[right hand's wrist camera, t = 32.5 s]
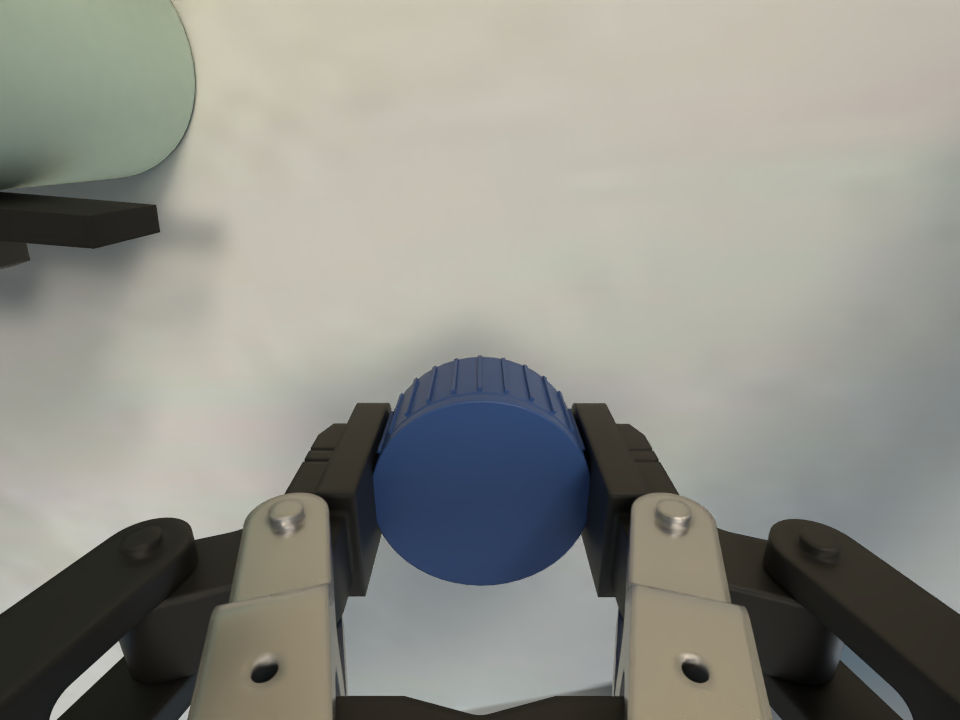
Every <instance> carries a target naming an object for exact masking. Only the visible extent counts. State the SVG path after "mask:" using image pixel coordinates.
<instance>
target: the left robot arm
mask: <svg viewBox="0 0 960 720" xmlns="http://www.w3.org/2000/svg"><path fill="white" fill-rule="evenodd" d="M158 232H160V228H159V221H158V215H157V208H156V205H150V204H138V203H126V202H114V201H102V200H90V199H78V198H66V197H54V196H42V195H30V194H18V193H6V192H0V269H3V268H7V267H11V266H15V265H18V264H20V263H23V262H26V261H29V260H30V257H29V253H28V249H27V245H26V243H33V244H45V245H57V246H69V247H81V248H94V249H95V248H99V247H103V246H107V245H111V244H114V243H118V242H122V241H126V240H130V239H134V238H138V237H142V236H146V235H150V234H154V233H158Z"/></svg>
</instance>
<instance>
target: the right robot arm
mask: <svg viewBox="0 0 960 720" xmlns="http://www.w3.org/2000/svg"><path fill="white" fill-rule="evenodd" d="M571 410H572V413H573V416H574V419H575V421H576V424H577V427H578V430H579V433H580V435H581V438H582V441H583V444H584V447H585V450H583V453H584V456H585V458H586V461H587V464H588V468H589V471H590V484H589V495H588V506H587V516H586V525H585V527H584V529H583V531H582V533H581V535H582V538H583V542H584V546H585V550H586V554H587V557H588V561H589V565H590V569H591V572H592V576H593V580H594V584H595V587H596V591H597V595H598V597H616V600H617V604H618V607H619V608H618V616H617V624H616V638H615V654H614V671H613V687H612V696H554V697H551V698H547V699H543V700H539V701H536V702H532V703H528V704H524V705H521V706H517V707H513V708H510V709H506V710H502V711H499V712H495V713H491V714H487V715H473V714H469V713H465V712H462V711H458V710H454V709H450V708H447V707H443V706H439V705H435V704H432V703H428V702H424V701H421V700H417V699H413V698H409V697H406V696H348V687H347V671H346V654H345V638H344V624H343V616H342V614H343V612H344V609H345V605H346V602H347V598H348V596H366V592H367V588H368V584H369V580H370V576H371V573H372V569H373V565H374V561H375V557H376V553H377V549H378V545H379V542H380V538H381V534H382V533H381V530H380V528H379V526H378V524H377V518H376V506H375V495H374V484H373V472H374V469H375V466H376V463H377V460H378V457H379V453H377V450H378V447H379V444H380V441H381V438H382V436H383V433H384V430H385V427H386V424H387V421H388V418H389V415H390V413H391V406H390V404H389V403H357V405H356V406H355V408H354V410H353V412H352V415H351V417H350V419H349V421H348V423H347V424H333V425H331V426H330V427H329V428H327V429H326V430H325V431H323V432H322V433H320V434H319V435H318V437H317V438H316V440H315V442H314V444H313V445H312V447H311V451H309V452H308V454H307V456H306V458H305V462H303V463H302V464H301V466H300V468H299V470H298V471H297V473H296V475H295V477H294V478H293V480H292V482H291V484H290V485H289V487H288V489H287V491H286V492H285V494H284V495H280V496H277V497H274V498H272V499H269V500H267V501H265V502H263V503H262V504H260V505H259V506H257V507H256V508H255V509H254V510H252V511H251V512H250V514H249V515H248V516H247V518H246V520H245V522H244V526H243V529H241V530H238V531H234V532H230V533H226V534H221V535H216V536H212V537H207V538H202V539H197V540H194V536H193V532H192V529H191V526H190V525H189V524H188V523H187V522H185V521H183V520H181V519H177V518H157V519H151V520H147V521H143V522H140V523H137V524H134V525H132V526H130V527H127V528H125V529H123V530H121V531H119V532H118V533H116V534H114V535H113V536H111V537H110V538H108V539H107V540H106V541H104V542H103V543H101V544H100V545H98V546H97V547H96V548H94V549H93V550H91V551H90V552H88V553H87V554H86V555H84V556H83V557H81V558H80V559H79V560H77V561H76V562H74V563H73V564H71V565H70V566H69V567H67V568H66V569H64V570H63V571H61V572H60V573H59V574H57V575H56V576H54V577H53V578H51V579H50V580H49V581H47V582H46V583H44V584H43V585H42V586H40V587H39V588H37V589H36V590H34V591H33V592H32V593H30V594H29V595H27V596H26V597H24V598H23V599H22V600H20V601H19V602H17V603H16V604H14V605H13V606H12V607H10V608H9V609H7V610H6V611H5V612H3V613H2V614H0V720H49V718H50V715H51V712H52V709H53V707H54V705H55V703H56V702H57V700H58V698H59V697H60V696H61V694H62V693H63V692H64V691H65V689H66V688H67V687H68V686H69V685H70V684H71V683H73V682H74V681H75V680H76V679H77V678H78V677H79V676H80V675H81V674H83V673H84V672H85V671H86V670H87V669H88V668H89V667H90V666H91V665H92V664H94V663H95V662H96V661H97V660H98V659H99V658H100V657H101V656H102V655H103V654H105V653H106V652H107V651H108V650H109V649H110V648H111V647H112V646H113V645H114V644H116V643H117V642H118V641H119V643H120V645H121V648H122V651H123V654H124V657H123V658H122V659H121V660H119V661H118V662H117V663H116V664H115V665H114V666H113V667H112V668H111V669H110V670H109V671H108V672H107V673H106V674H105V675H104V676H103V677H101V678H100V679H99V680H98V681H97V682H96V683H95V684H94V685H93V686H92V687H91V688H90V689H89V690H88V691H87V692H86V693H85V694H84V695H82V696H81V697H80V698H79V699H78V700H77V701H76V702H75V703H74V704H73V705H72V706H71V707H70V708H69V709H68V710H67V711H66V712H64V713H63V714H62V715H61V716H60V717H59V718H58V719H57V720H178V719H179V718H180V717H181V715H182V714H183V713H184V712H185V711H186V710H187V708H188V707H189V706H190V705H191V706H190V710H189V715H188V719H187V720H773V719H772V715H771V710H770V706H771V707H772V708H773V710H774V711H775V712H776V713H777V714H778V715H779V717H780V718H781V719H782V720H903V719H902V718H901V717H900V716H899V715H898V714H897V713H896V712H895V711H893V710H892V709H891V708H890V707H889V706H888V705H887V704H886V703H885V702H884V701H883V700H882V699H881V698H880V697H879V696H878V695H877V694H875V693H874V692H873V691H872V690H871V689H870V688H869V687H868V686H867V685H866V684H865V683H864V682H863V681H862V680H861V679H860V678H859V677H857V676H856V675H855V674H854V673H853V672H852V671H851V670H850V669H849V668H848V667H847V666H846V665H845V664H844V663H843V662H842V661H841V660H840V657H841V654H842V652H843V649H844V646H845V644H846V645H847V646H848V647H849V648H850V649H851V650H852V651H853V652H854V653H855V654H857V655H858V656H859V657H860V658H861V659H862V660H863V661H864V662H865V663H866V664H868V665H869V666H870V667H871V668H872V669H873V670H874V671H875V672H876V673H878V674H879V675H880V676H881V677H882V678H883V679H884V680H885V681H886V682H887V683H889V684H890V685H891V686H892V687H893V688H894V689H895V690H896V691H897V692H898V693H899V695H900V696H901V697H902V698H903V700H904V701H905V703H906V704H907V706H908V708H909V710H910V712H911V714H912V717H913V720H960V614H958V613H957V612H956V611H954V610H953V609H951V608H950V607H948V606H947V605H946V604H944V603H943V602H941V601H940V600H938V599H937V598H936V597H934V596H933V595H931V594H930V593H928V592H927V591H926V590H924V589H923V588H921V587H920V586H919V585H917V584H916V583H914V582H913V581H911V580H910V579H909V578H907V577H906V576H904V575H903V574H901V573H900V572H899V571H897V570H896V569H894V568H893V567H891V566H890V565H889V564H887V563H886V562H884V561H883V560H881V559H880V558H879V557H877V556H876V555H874V554H873V553H872V552H870V551H869V550H867V549H866V548H864V547H863V546H862V545H860V544H859V543H857V542H856V541H854V540H853V539H852V538H850V537H848V536H847V535H845V534H844V533H842V532H840V531H838V530H836V529H834V528H831V527H829V526H826V525H824V524H821V523H817V522H813V521H808V520H801V519H788V520H782V521H780V522H777V523H776V524H774V525H773V526H772V528H771V530H770V533H769V537H768V540H763V539H759V538H754V537H749V536H744V535H740V534H735V533H731V532H727V531H724V530H721V529H718V528H717V526H716V522H715V520H714V518H713V516H712V515H711V514H710V512H709V511H708V510H706V509H705V508H704V507H703V506H701V505H700V504H698V503H697V502H695V501H693V500H691V499H688V498H686V497H683V496H680V495H679V494H678V492H677V490H676V489H675V487H674V485H673V483H672V482H671V480H670V478H669V477H668V475H667V473H666V471H665V470H664V468H663V466H662V465H661V463H660V462H659V459H658V458H657V456H656V454H655V453H654V451H652V447H651V446H650V444H649V442H648V440H647V439H646V437H645V435H643V434H642V433H641V432H639V431H638V430H636V429H635V428H634V427H632V426H631V425H630V424H616V423H615V421H614V419H613V417H612V415H611V413H610V411H609V409H608V407H607V405H606V404H605V403H574V404H573V405H572V409H571ZM769 705H770V706H769Z"/></svg>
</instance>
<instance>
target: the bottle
mask: <svg viewBox="0 0 960 720" xmlns="http://www.w3.org/2000/svg"><path fill="white" fill-rule="evenodd" d="M194 96H195V76H194V66H193V60H192V55H191V50H190V46H189V43H188V40H187V37H186V34H185V31H184V28H183V26H182V23H181V21H180V19H179V17H178V14H177V12H176V10H175V9H174V7H173V5H172V3H171V2H170V0H0V190H4V189H14V188H24V187H34V186H44V185H55V184H65V183H75V182H85V181H95V180H105V179H115V178H123V177H128V176H134V175H136V174H139V173H142V172H145V171H147V170H149V169H151V168H153V167H154V166H156V165H158V164H159V163H160V162H161V161H163V160H164V159H165V158H166V157H167V156H168V155H169V154H170V153H171V152H172V151H173V150H174V149H175V148H176V146H177V144H178V143H179V141H180V140H181V138H182V137H183V135H184V133H185V130H186V128H187V126H188V124H189V120H190V117H191V113H192V109H193V102H194Z"/></svg>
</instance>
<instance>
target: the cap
mask: <svg viewBox="0 0 960 720" xmlns="http://www.w3.org/2000/svg"><path fill="white" fill-rule="evenodd" d="M583 450H585V447H584V444H583V441H582V438H581V435H580V433H579V430H578V427H577V424H576V421H575V419H574V416H573V413H572V410H571V408H570V409H568V408H567V406H566V404H565V402H564V399H563V396H562V393H561V392H560V391H558V392H557V391H556V389H555V388H554V387H553V386H552V385H551V384H550V383H549V382H548V381H547V378H546V377H545V376H543V377H542V376H540V375H539V374H537V373H536V372H534V371H533V370H531V369H529V368H528V367H527V365H523V366H522V365H520V364H517V363H514V362H511V361H508V360H505V358H501V359H498V358H489V357H482V356H478V357H473V358H465V359H459V360H458V358H457V359H454V361H452V362H448V363H445V364H443V365H441V366H438V367H436V366H434V367H433V369H432V370H431V371H429V372H427V373H426V374H424V375H423V376H421V377H420V378H419V379H418V378H416V379H414V382H413V384H412V385H411V386H410V387H409V388H408V389H407V390H406V391H405V393H404V394H402V393H401V394H400V396H399V399H398V402H397V405H396V408H395V410H394V412H393V411H391V413H390V415H389V418H388V421H387V424H386V427H385V430H384V433H383V436H382V438H381V441H380V444H379V447H378V450H377V453H379V457H378V460H377V463H376V466H375V469H374V472H373V484H374V495H375V506H376V518H377V524H378V526H379V528H380V530H381V533H382V534H383V536H384V537H385V539H386V540H387V542H388V543H389V544H390V546H391V547H392V548H393V549H394V550H395V551H396V552H397V553H398V554H399V555H400V556H401V557H402V558H404V559H405V560H406V561H407V562H409V563H410V564H411V565H413V566H414V567H416V568H417V569H419V570H421V571H423V572H425V573H427V574H429V575H432V576H434V577H437V578H439V579H442V580H446V581H450V582H453V583H459V584H465V585H479V586H482V585H497V584H504V583H509V582H513V581H517V580H521V579H524V578H526V577H529V576H532V575H534V574H536V573H538V572H540V571H542V570H544V569H546V568H547V567H549V566H550V565H552V564H553V563H555V562H556V561H557V560H558V559H560V558H561V557H562V556H563V555H564V554H565V553H566V552H567V551H568V550H569V549H570V548H571V547H572V546H573V545H574V543H575V542H576V540H577V539H578V538H579V536H580V535H581V533H582V531H583V529H584V527H585V525H586V516H587V506H588V495H589V484H590V471H589V468H588V464H587V461H586V458H585V456H584V453H583Z"/></svg>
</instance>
